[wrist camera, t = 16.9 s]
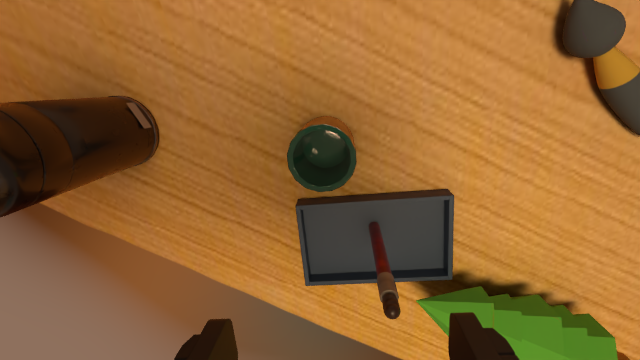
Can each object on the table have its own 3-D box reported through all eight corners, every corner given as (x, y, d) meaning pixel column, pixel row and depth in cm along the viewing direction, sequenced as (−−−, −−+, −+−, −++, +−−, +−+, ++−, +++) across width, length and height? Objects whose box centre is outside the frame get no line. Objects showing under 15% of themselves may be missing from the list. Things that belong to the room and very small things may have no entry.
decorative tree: (659, 443, 37) (421, 365, 35) (571, 386, 48) (388, 324, 46) (681, 345, 38) (451, 264, 36) (590, 312, 49) (412, 249, 47)
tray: (307, 275, 48) (305, 286, 45) (298, 199, 45) (295, 205, 42) (446, 269, 46) (452, 279, 44) (447, 188, 43) (454, 195, 40)
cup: (302, 172, 43) (291, 193, 35) (295, 118, 41) (283, 127, 33) (355, 168, 43) (358, 189, 34) (351, 113, 41) (353, 121, 32)
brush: (368, 232, 45) (383, 324, 27) (367, 221, 44) (382, 307, 27) (380, 231, 44) (403, 324, 27) (379, 220, 44) (403, 307, 27)
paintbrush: (672, 113, 38) (719, 117, 33) (633, 143, 39) (672, 151, 35) (570, -14, 35) (605, -30, 30) (531, 23, 36) (559, 13, 32)
